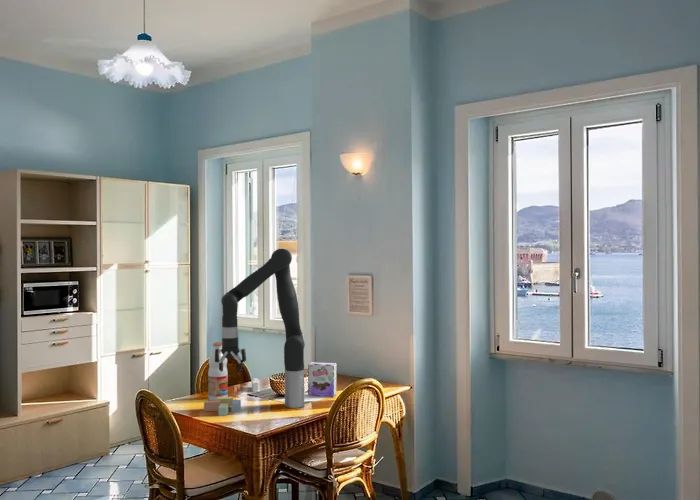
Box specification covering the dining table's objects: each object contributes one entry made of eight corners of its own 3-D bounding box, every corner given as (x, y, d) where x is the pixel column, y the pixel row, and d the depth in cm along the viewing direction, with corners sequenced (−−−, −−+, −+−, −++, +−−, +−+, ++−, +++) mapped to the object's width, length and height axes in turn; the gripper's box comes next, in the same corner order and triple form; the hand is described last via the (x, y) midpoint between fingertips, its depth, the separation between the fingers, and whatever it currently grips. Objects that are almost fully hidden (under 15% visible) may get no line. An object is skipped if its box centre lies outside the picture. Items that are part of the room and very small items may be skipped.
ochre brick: (232, 404, 297) (232, 396, 297) (232, 406, 293) (232, 398, 293) (217, 405, 295) (217, 397, 295) (217, 407, 291) (217, 399, 291)
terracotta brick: (220, 408, 289) (220, 400, 289) (219, 410, 286) (219, 402, 286) (205, 409, 289) (205, 400, 289) (204, 411, 285) (204, 402, 285)
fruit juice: (211, 396, 312) (211, 341, 312) (229, 397, 311) (229, 341, 311) (205, 401, 303) (205, 344, 303) (224, 401, 302) (224, 344, 302)
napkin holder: (258, 394, 320) (258, 383, 320) (239, 392, 324) (239, 381, 324) (272, 388, 333) (272, 377, 333) (254, 386, 338) (254, 376, 338)
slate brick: (232, 408, 291) (232, 399, 290) (240, 408, 291) (240, 399, 291) (231, 412, 283) (231, 403, 283) (239, 412, 284) (239, 403, 284)
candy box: (307, 395, 314) (307, 363, 314) (311, 393, 320) (311, 361, 320) (333, 397, 311) (333, 364, 311) (336, 394, 317) (336, 362, 317)
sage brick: (220, 412, 284) (220, 403, 284) (228, 412, 284) (228, 403, 284) (218, 416, 276) (218, 407, 276) (226, 416, 277) (226, 407, 277)
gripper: (247, 335, 290) (247, 369, 290) (217, 335, 292) (218, 369, 292) (242, 337, 283) (243, 372, 283) (212, 337, 284) (213, 372, 284)
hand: (230, 371), depth 287 cm, fingers open, 8 cm apart
